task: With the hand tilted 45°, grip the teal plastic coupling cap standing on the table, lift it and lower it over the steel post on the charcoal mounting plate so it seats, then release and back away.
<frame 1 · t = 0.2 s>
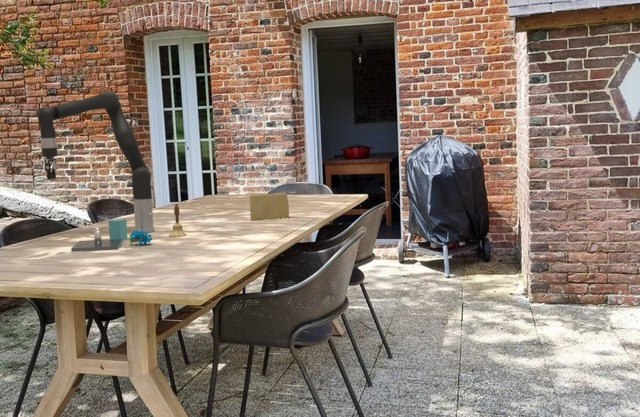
hand: (51, 179, 357), 29 cm above the table, tool pointing down, fingers open, 8 cm apart
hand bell: (177, 236, 352), on the table
blue spiky toy: (140, 245, 327), on the table
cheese: (269, 219, 405), on the table
mount plate: (98, 246, 324), on the table
coupling cap: (118, 240, 342), on the table
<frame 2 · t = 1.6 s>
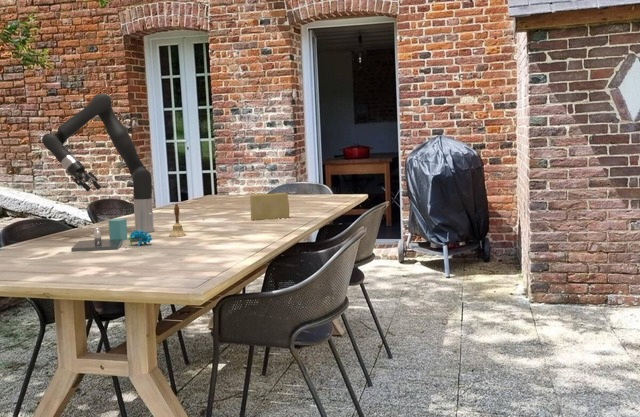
hand: (94, 189, 342), 25 cm above the table, tool tilted 45°, fingers open, 8 cm apart
nothing on the table moved.
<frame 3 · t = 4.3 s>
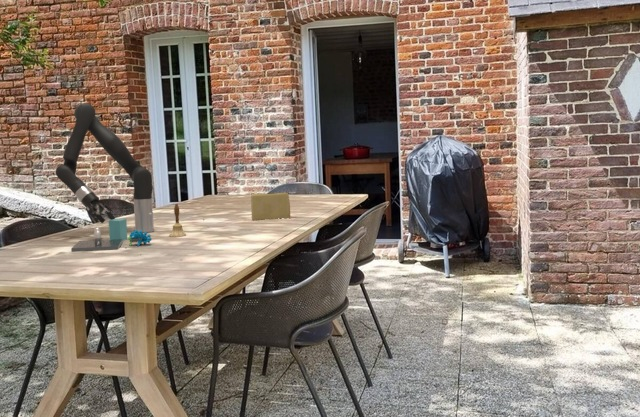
hand: (108, 220, 342), 9 cm above the table, tool tilted 45°, fingers open, 8 cm apart
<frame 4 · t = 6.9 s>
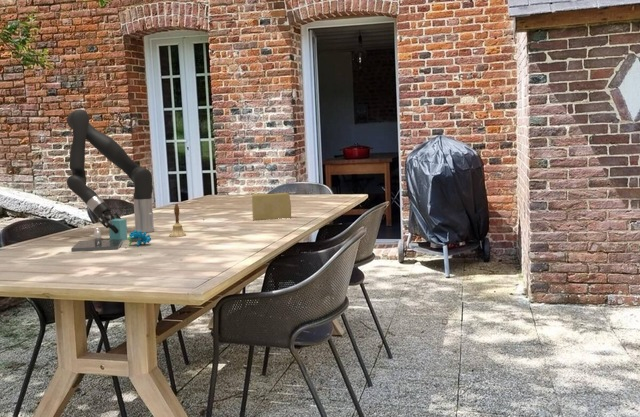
hand: (121, 231, 341), 4 cm above the table, tool tilted 45°, fingers closed on coupling cap, 6 cm apart
coupling cap: (118, 240, 342), on the table, touching gripper
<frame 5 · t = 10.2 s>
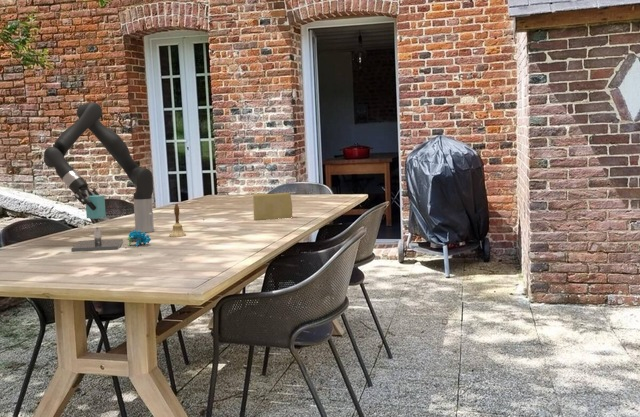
hand: (99, 208, 321), 18 cm above the table, tool tilted 45°, fingers closed on coupling cap, 6 cm apart
coupling cap: (96, 217, 322), point 14 cm above the table, touching gripper
when the fingers open (7 cm above the table, at t = 13.5 s): coupling cap drops 1 cm, resting on mount plate.
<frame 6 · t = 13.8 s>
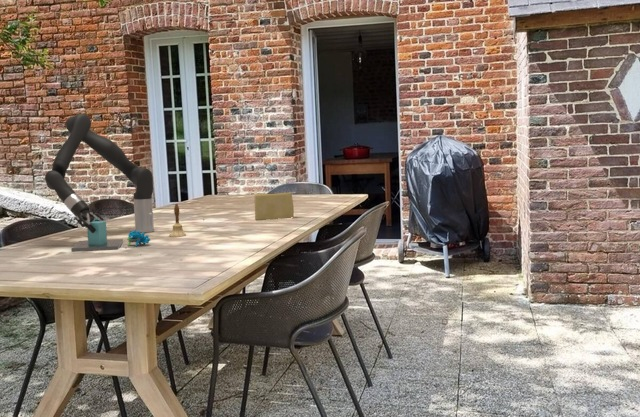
hand: (99, 230, 323), 8 cm above the table, tool tilted 45°, fingers open, 8 cm apart
coupling cap: (97, 243, 324), point 1 cm above the table, touching mount plate
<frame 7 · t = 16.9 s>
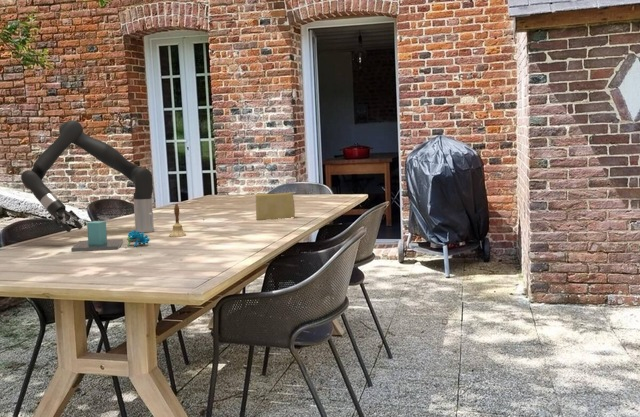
hand: (75, 229, 326), 8 cm above the table, tool tilted 45°, fingers open, 8 cm apart
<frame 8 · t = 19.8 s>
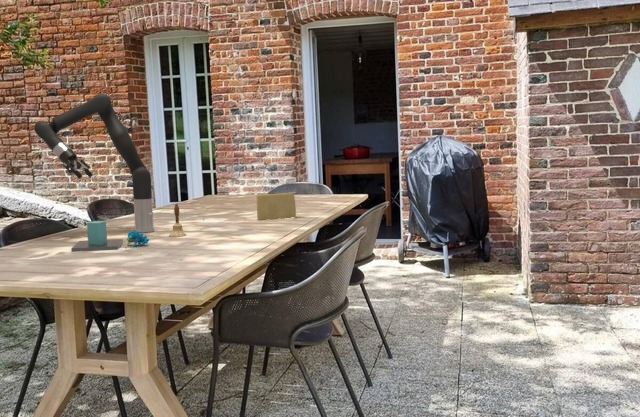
hand: (86, 176, 344), 31 cm above the table, tool tilted 45°, fingers open, 8 cm apart
at the end: coupling cap 0.2 cm off-centre on the mount plate, point 1.5 cm above the mount plate's base; coupling cap tilted 0°; the gripper is holding nothing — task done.
